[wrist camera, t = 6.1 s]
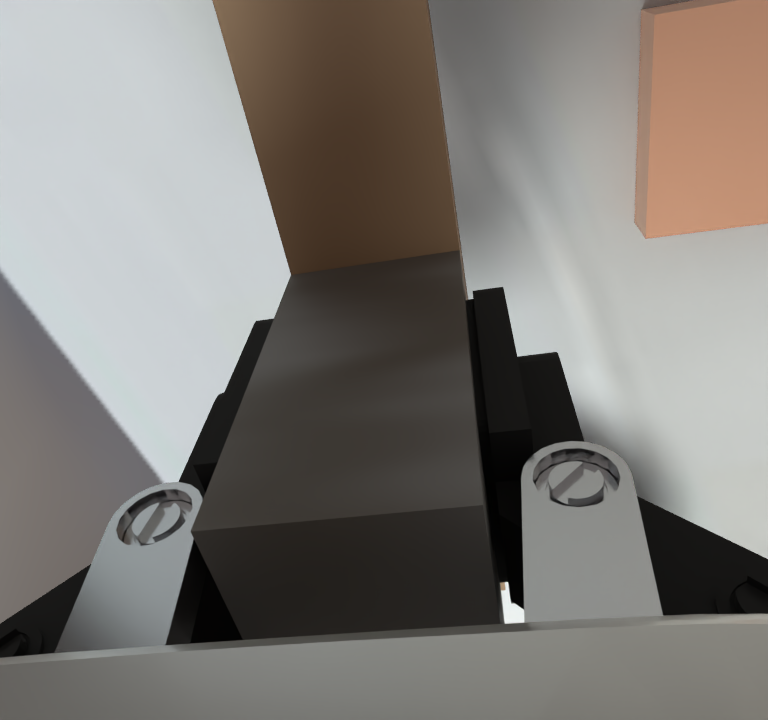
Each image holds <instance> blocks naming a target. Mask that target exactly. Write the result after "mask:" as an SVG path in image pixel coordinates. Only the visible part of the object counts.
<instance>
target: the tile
mask: <svg viewBox="0 0 768 720" xmlns="http://www.w3.org/2000/svg"><path fill="white" fill-rule="evenodd" d="M766 223H768V0H693V1H687V2H682V3H676V4H670V5H664V6H659V7H653V8H647V9H642V10H641V31H640V63H639V95H638V127H637V159H636V191H635V224H636V225H637V227H638V228H639V230H640V231H641V233H642V234H643V236H644V237H645V239H647V238H655V237H663V236H671V235H679V234H687V233H695V232H703V231H711V230H718V229H726V228H734V227H742V226H750V225H758V224H766Z"/></svg>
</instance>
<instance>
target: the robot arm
mask: <svg viewBox="0 0 768 720" xmlns="http://www.w3.org/2000/svg"><path fill="white" fill-rule="evenodd" d="M473 298H474V299H470V300H466V310H467V320H468V331H469V341H470V352H471V362H472V373H473V384H474V394H475V405H476V415H477V426H478V434H479V443H480V450H481V457H482V464H483V472H484V479H485V486H486V493H487V500H488V507H489V514H490V521H491V528H492V535H493V542H494V549H495V556H496V563H497V570H498V577H499V583H502V582H508V585H509V593H510V600H511V604H513V603H515V604H516V605H518V606H519V607H521V608H522V609H524V623H508V624H491V625H475V626H458V627H441V628H424V629H407V630H391V631H376V632H360V633H344V634H329V635H313V636H298V637H282V638H267V639H252V640H243V639H242V637H241V635H240V633H239V631H238V629H237V626H236V624H235V622H234V620H233V618H232V616H231V614H230V612H229V610H228V608H227V606H226V604H225V602H224V600H223V598H222V596H221V593H220V591H219V589H218V587H217V585H216V583H215V581H214V579H213V577H212V575H211V573H210V571H209V569H208V567H207V565H206V563H205V561H204V558H203V556H202V554H201V552H200V550H199V548H198V546H197V544H196V542H195V540H194V538H193V536H192V534H191V532H190V531H191V529H192V526H193V524H194V521H195V519H196V516H197V514H198V511H199V509H200V506H201V503H202V501H203V498H204V496H205V493H206V491H207V488H208V486H209V483H210V481H211V478H212V475H213V473H214V470H215V468H216V465H217V463H218V460H219V458H220V455H221V452H222V450H223V447H224V445H225V442H226V440H227V437H228V435H229V432H230V430H231V427H232V424H233V422H234V419H235V417H236V414H237V412H238V409H239V407H240V404H241V402H242V399H243V396H244V394H245V391H246V389H247V386H248V384H249V381H250V379H251V376H252V374H253V371H254V368H255V366H256V363H257V361H258V358H259V356H260V353H261V351H262V348H263V345H264V343H265V340H266V338H267V335H268V333H269V330H270V328H271V325H272V323H273V320H274V319H268V320H261V321H256V322H255V324H254V326H253V328H252V330H251V333H250V335H249V337H248V340H247V342H246V344H245V346H244V349H243V351H242V353H241V356H240V358H239V360H238V363H237V365H236V367H235V369H234V372H233V374H232V376H231V379H230V381H229V383H228V386H227V388H226V390H225V392H224V393H222V394H219V395H218V397H217V398H216V400H215V402H214V404H213V406H212V408H211V411H210V413H209V415H208V417H207V420H206V422H205V424H204V426H203V428H202V431H201V433H200V435H199V437H198V440H197V442H196V444H195V446H194V449H193V451H192V453H191V455H190V457H189V460H188V462H187V464H186V466H185V469H184V471H183V473H182V475H181V478H180V480H179V482H173V483H164V484H161V485H157V486H153V487H151V488H148V489H147V490H144V491H142V492H140V493H138V494H137V495H135V496H134V497H132V498H131V499H129V500H128V501H127V502H125V503H124V504H123V505H122V506H121V507H120V508H119V509H118V510H117V511H116V512H115V514H114V515H113V517H112V519H111V520H110V522H109V524H108V526H107V528H106V531H105V533H104V535H103V538H102V540H101V543H100V545H99V547H98V550H97V552H96V554H95V557H94V559H93V562H92V564H90V565H89V566H87V567H86V568H84V569H83V570H81V571H80V572H79V573H77V574H75V575H74V576H72V577H71V578H69V579H68V580H66V581H65V582H63V583H62V584H60V585H58V586H57V587H55V588H54V589H52V590H51V591H49V592H48V593H46V594H45V595H43V596H42V597H40V598H39V599H37V600H36V601H34V602H33V603H31V604H30V605H28V606H26V607H25V608H23V609H22V610H20V611H19V612H17V613H16V614H14V615H13V616H12V617H10V618H8V619H7V620H5V621H4V622H2V623H1V624H0V720H768V559H766V558H764V557H762V556H760V555H758V554H756V553H754V552H752V551H750V550H748V549H746V548H743V547H741V546H739V545H737V544H735V543H733V542H731V541H729V540H727V539H725V538H723V537H721V536H718V535H716V534H714V533H712V532H710V531H708V530H706V529H704V528H702V527H700V526H698V525H696V524H694V523H691V522H689V521H687V520H685V519H683V518H681V517H679V516H677V515H675V514H673V513H671V512H669V511H667V510H664V509H662V508H660V507H658V506H656V505H654V504H652V503H650V502H648V501H646V500H644V499H642V498H640V497H637V494H636V490H635V485H634V480H633V476H632V473H631V471H630V469H629V466H628V464H627V463H626V462H625V461H624V460H623V459H622V458H621V457H620V456H619V455H618V454H617V453H615V452H614V451H612V450H610V449H608V448H606V447H604V446H601V445H597V444H594V443H590V442H584V439H583V436H582V432H581V429H580V426H579V422H578V419H577V416H576V412H575V409H574V405H573V402H572V399H571V395H570V392H569V389H568V385H567V382H566V379H565V375H564V372H563V368H562V365H561V362H560V358H559V356H558V353H557V352H553V353H544V354H536V355H528V356H520V357H517V354H516V349H515V344H514V339H513V334H512V329H511V324H510V319H509V314H508V309H507V304H506V299H505V294H504V289H503V287H499V288H492V289H484V290H477V291H473Z"/></svg>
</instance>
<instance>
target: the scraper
mask: <svg viewBox="0 0 768 720" xmlns="http://www.w3.org/2000/svg"><path fill="white" fill-rule="evenodd" d="M213 4H214V7H215V11H216V14H217V18H218V21H219V25H220V28H221V32H222V35H223V39H224V42H225V46H226V49H227V53H228V56H229V60H230V63H231V67H232V70H233V74H234V77H235V81H236V84H237V88H238V91H239V95H240V98H241V102H242V105H243V109H244V112H245V116H246V119H247V123H248V126H249V129H250V133H251V136H252V140H253V143H254V147H255V150H256V154H257V157H258V161H259V164H260V168H261V171H262V175H263V178H264V182H265V185H266V189H267V192H268V196H269V199H270V203H271V206H272V210H273V213H274V217H275V220H276V224H277V227H278V231H279V234H280V238H281V241H282V245H283V248H284V252H285V255H286V259H287V262H288V265H289V269H290V272H291V277H290V279H289V282H288V284H287V287H286V289H285V292H284V295H283V297H282V300H281V302H280V305H279V307H278V310H277V312H276V315H275V317H274V320H273V323H272V325H271V328H270V330H269V333H268V335H267V338H266V340H265V343H264V345H263V348H262V351H261V353H260V356H259V358H258V361H257V363H256V366H255V368H254V371H253V374H252V376H251V379H250V381H249V384H248V386H247V389H246V391H245V394H244V396H243V399H242V402H241V404H240V407H239V409H238V412H237V414H236V417H235V419H234V422H233V424H232V427H231V430H230V432H229V435H228V437H227V440H226V442H225V445H224V447H223V450H222V452H221V455H220V458H219V460H218V463H217V465H216V468H215V470H214V473H213V475H212V478H211V481H210V483H209V486H208V488H207V491H206V493H205V496H204V498H203V501H202V503H201V506H200V509H199V511H198V514H197V516H196V519H195V521H194V524H193V526H192V529H191V531H190V532H191V534H192V536H193V538H194V540H195V542H196V544H197V546H198V548H199V550H200V552H201V554H202V556H203V558H204V561H205V563H206V565H207V567H208V569H209V571H210V573H211V575H212V577H213V579H214V581H215V583H216V585H217V587H218V589H219V591H220V593H221V596H222V598H223V600H224V602H225V604H226V606H227V608H228V610H229V612H230V614H231V616H232V618H233V620H234V622H235V624H236V626H237V629H238V631H239V633H240V635H241V637H242V639H243V640H252V639H267V638H282V637H298V636H313V635H329V634H344V633H360V632H376V631H391V630H407V629H424V628H441V627H458V626H475V625H491V624H505V622H504V613H503V603H502V594H501V590H506V589H505V582H502V583H499V577H498V570H497V563H496V556H495V549H494V542H493V535H492V528H491V521H490V514H489V507H488V500H487V493H486V486H485V479H484V472H483V464H482V457H481V450H480V443H479V434H478V426H477V415H476V405H475V394H474V384H473V373H472V362H471V352H470V341H469V331H468V320H467V310H466V300H468V295H467V288H466V280H465V273H464V265H463V258H462V250H461V243H460V235H459V228H458V220H457V213H456V206H455V198H454V191H453V183H452V176H451V168H450V161H449V153H448V146H447V138H446V131H445V123H444V116H443V108H442V101H441V93H440V86H439V78H438V71H437V63H436V56H435V48H434V41H433V34H432V26H431V19H430V11H429V4H428V0H213Z"/></svg>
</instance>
